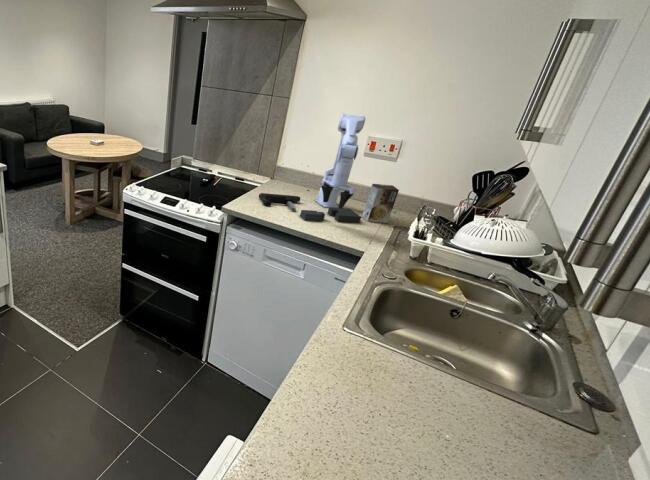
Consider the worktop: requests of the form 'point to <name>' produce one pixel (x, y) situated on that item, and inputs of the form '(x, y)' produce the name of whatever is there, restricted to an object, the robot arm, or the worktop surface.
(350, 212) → the notch pad
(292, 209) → the door handle
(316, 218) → the pad
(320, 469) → the worktop surface
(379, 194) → the coffee box
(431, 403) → the worktop surface
